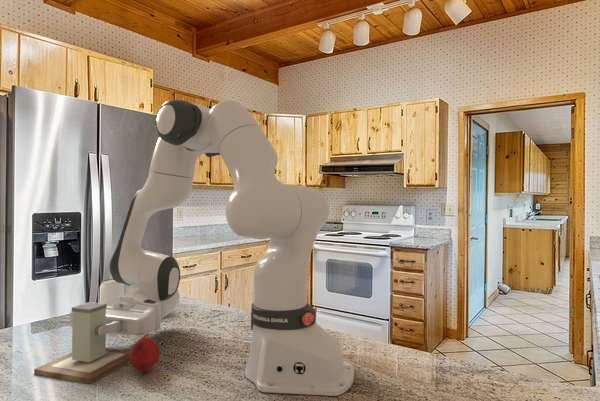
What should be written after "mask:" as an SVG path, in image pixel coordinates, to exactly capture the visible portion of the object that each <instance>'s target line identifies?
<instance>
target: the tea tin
mask: <svg viewBox="0 0 600 401" xmlns="http://www.w3.org/2000/svg"><path fill="white" fill-rule="evenodd" d="M106 308H107V304H103V303H100V302H93V301H89V302H85V303H82V304H81V303H80V304H79V305H75V306H73V307H71V311H72V327H71V329H72V330H71V334H72V336H71V340H72V341H71V350H72V351H71V353H72V360H79V361H85V362H91V361H93V360H95V359H97V358H99V357H101V356H103V355H105V354H106V348H107V347H106V345H107V344H106V343H107V341H106V340H107V338H106V337H107V335H106V334H104V335H102V336H101V335H95V327H96V326H99V325H105V324H106Z"/></svg>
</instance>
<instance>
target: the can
mask: <svg viewBox="0 0 600 401" xmlns="http://www.w3.org/2000/svg"><path fill="white" fill-rule="evenodd" d="M122 296H125V284H122V283H117V282H116V281H115V280H114V279H113V278H107V279H102V280H101V284H100V285H99V303H103V304H107V306H113V304H114V302H115V301H116V300H117V299H118V298H119V297H122Z"/></svg>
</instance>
